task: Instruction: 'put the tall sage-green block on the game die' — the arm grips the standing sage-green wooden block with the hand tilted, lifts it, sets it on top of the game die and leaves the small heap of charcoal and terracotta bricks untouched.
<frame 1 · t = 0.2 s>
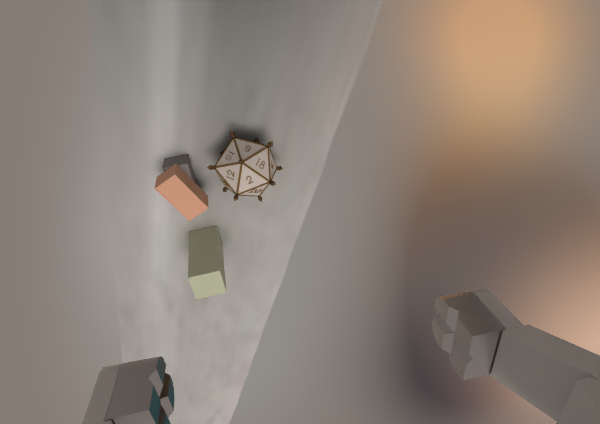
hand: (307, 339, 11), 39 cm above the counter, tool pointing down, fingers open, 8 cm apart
terracotta brick: (183, 186, 47), point 3 cm above the counter
green block: (206, 238, 55), on the counter
game die: (243, 154, 49), on the counter
charcoal brick: (182, 175, 49), on the counter
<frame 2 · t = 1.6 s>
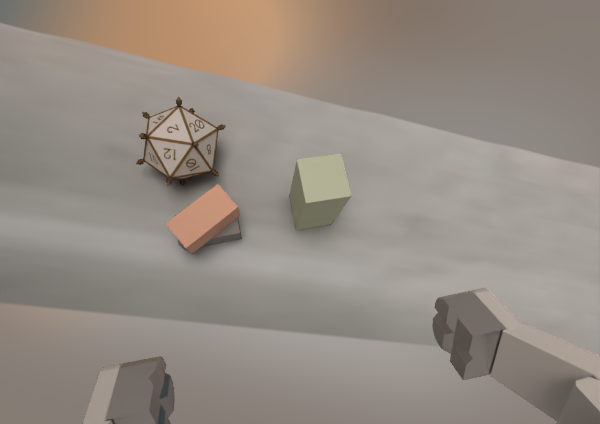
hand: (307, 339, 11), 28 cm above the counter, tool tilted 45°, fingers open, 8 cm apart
terracotta brick: (207, 223, 37), point 3 cm above the counter, touching charcoal brick
green block: (309, 210, 41), on the counter
game die: (189, 161, 41), on the counter
charcoal brick: (211, 230, 39), on the counter, touching terracotta brick
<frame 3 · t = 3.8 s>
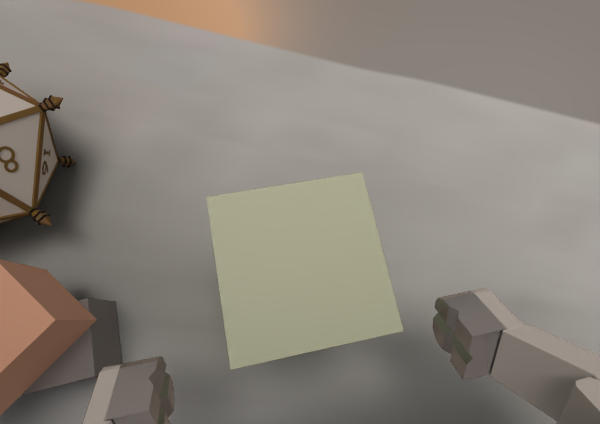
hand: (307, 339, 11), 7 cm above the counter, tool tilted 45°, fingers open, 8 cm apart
terracotta brick: (7, 355, 14), point 3 cm above the counter, touching charcoal brick
green block: (283, 291, 18), on the counter
game die: (17, 183, 19), on the counter
charcoal brick: (52, 350, 17), on the counter, touching terracotta brick
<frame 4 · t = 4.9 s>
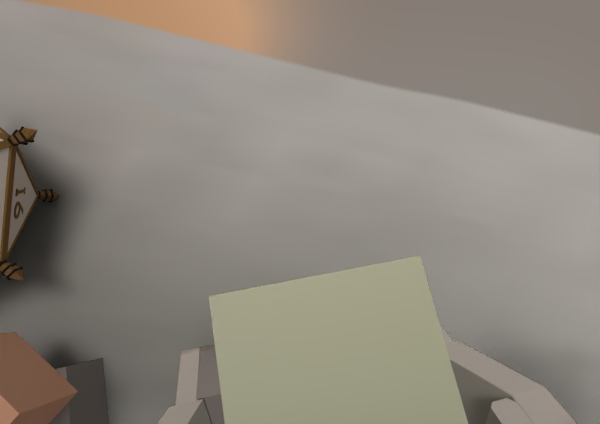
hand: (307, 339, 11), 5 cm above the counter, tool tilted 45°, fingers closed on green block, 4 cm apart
green block: (297, 347, 16), on the counter, touching gripper
charcoal brick: (28, 417, 14), on the counter, touching terracotta brick
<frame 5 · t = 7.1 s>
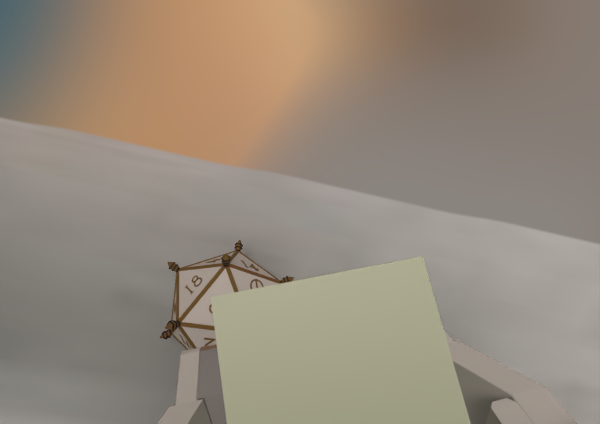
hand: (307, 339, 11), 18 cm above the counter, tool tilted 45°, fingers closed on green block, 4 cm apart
green block: (298, 348, 16), point 13 cm above the counter, touching gripper
game die: (233, 309, 29), on the counter
when the fingers open (15 cm above the counter, at t = 8.6 s): green block drops 2 cm, resting on game die.
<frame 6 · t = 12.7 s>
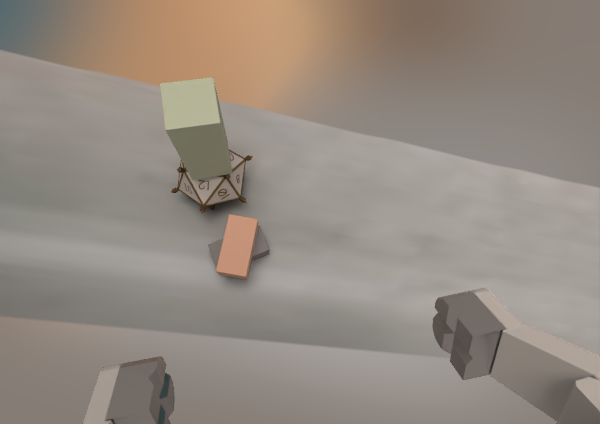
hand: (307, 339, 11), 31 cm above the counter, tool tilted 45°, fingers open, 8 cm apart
terracotta brick: (239, 249, 40), point 3 cm above the counter, touching charcoal brick
green block: (210, 158, 37), point 8 cm above the counter, touching game die
game die: (216, 187, 45), on the counter, touching green block
charcoal brick: (240, 251, 43), on the counter, touching terracotta brick
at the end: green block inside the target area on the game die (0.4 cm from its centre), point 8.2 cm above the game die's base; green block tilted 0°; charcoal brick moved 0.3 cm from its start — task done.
